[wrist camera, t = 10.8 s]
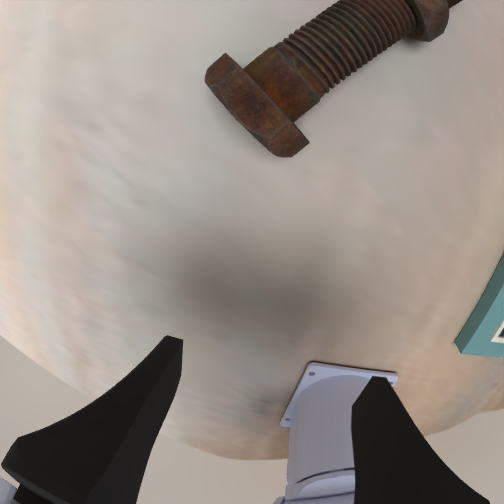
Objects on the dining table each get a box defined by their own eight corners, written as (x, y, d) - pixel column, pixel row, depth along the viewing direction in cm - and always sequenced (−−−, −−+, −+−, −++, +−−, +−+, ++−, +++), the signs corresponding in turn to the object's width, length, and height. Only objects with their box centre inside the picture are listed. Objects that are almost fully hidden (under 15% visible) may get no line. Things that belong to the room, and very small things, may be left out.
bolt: (436, -3, 12) (259, 124, 17) (401, -67, 9) (197, 67, 14) (507, 22, 8) (295, 180, 14) (478, -62, 5) (215, 105, 10)
